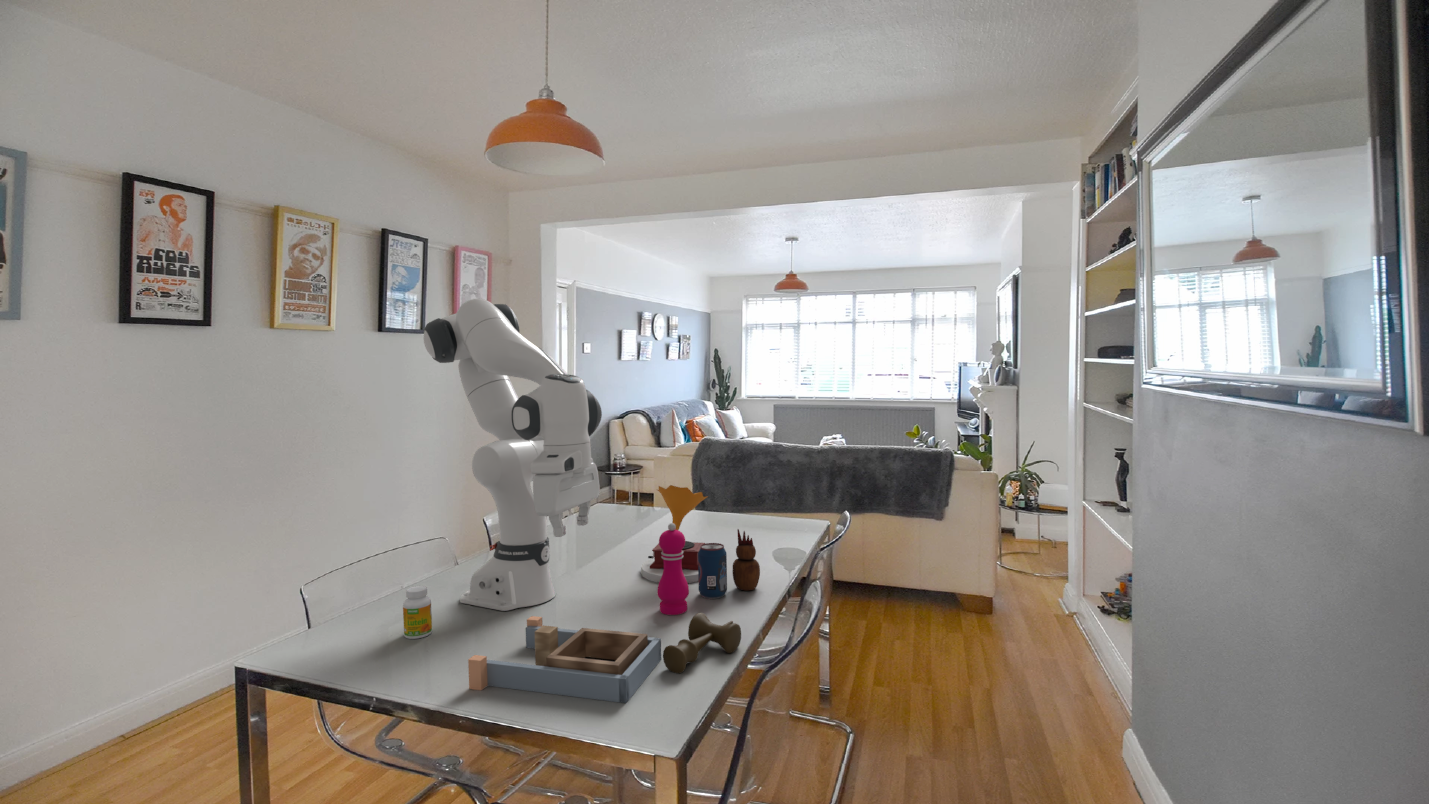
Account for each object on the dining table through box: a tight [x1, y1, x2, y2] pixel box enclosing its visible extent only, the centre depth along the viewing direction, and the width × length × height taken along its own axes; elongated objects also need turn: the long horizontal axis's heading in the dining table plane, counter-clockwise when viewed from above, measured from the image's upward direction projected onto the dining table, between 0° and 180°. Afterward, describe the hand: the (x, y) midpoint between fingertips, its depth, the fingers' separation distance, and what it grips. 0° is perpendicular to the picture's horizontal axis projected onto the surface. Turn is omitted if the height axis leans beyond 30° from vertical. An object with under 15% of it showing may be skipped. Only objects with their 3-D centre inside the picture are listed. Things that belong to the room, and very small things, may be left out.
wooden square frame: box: [534, 624, 649, 675], centre depth 117 cm, size 19×13×7 cm
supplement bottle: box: [402, 585, 433, 640], centre depth 136 cm, size 5×5×10 cm
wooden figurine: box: [732, 528, 761, 592], centre depth 161 cm, size 7×6×15 cm
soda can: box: [697, 542, 728, 600], centre depth 157 cm, size 7×7×12 cm
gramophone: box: [640, 484, 709, 584], centre depth 176 cm, size 20×20×25 cm
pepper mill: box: [656, 522, 690, 616], centre depth 147 cm, size 7×7×20 cm
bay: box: [467, 615, 662, 704], centre depth 118 cm, size 28×20×5 cm
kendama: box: [662, 612, 742, 674], centre depth 124 cm, size 6×10×20 cm
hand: (571, 530), depth 124 cm, fingers open, 8 cm apart
